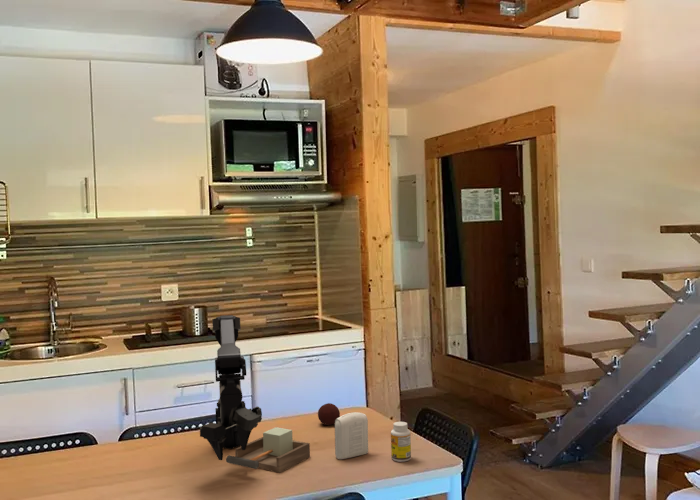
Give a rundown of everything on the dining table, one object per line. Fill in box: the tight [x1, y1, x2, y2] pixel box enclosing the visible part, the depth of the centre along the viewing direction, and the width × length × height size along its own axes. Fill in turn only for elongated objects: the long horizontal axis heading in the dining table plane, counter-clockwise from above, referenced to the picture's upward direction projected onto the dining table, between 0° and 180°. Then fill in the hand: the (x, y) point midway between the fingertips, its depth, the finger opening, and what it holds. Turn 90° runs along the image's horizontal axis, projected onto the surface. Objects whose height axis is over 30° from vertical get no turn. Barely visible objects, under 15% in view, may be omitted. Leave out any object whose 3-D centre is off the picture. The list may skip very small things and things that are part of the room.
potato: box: [317, 402, 341, 426], centre depth 228 cm, size 7×8×7 cm
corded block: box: [225, 426, 293, 470], centre depth 191 cm, size 10×20×6 cm, turn 147°
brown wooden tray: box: [234, 436, 311, 473], centre depth 195 cm, size 16×14×4 cm
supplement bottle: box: [390, 421, 412, 463], centre depth 192 cm, size 6×6×10 cm
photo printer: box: [334, 411, 369, 460], centre depth 197 cm, size 10×4×12 cm, turn 123°
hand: (232, 454), depth 186 cm, fingers open, 9 cm apart
